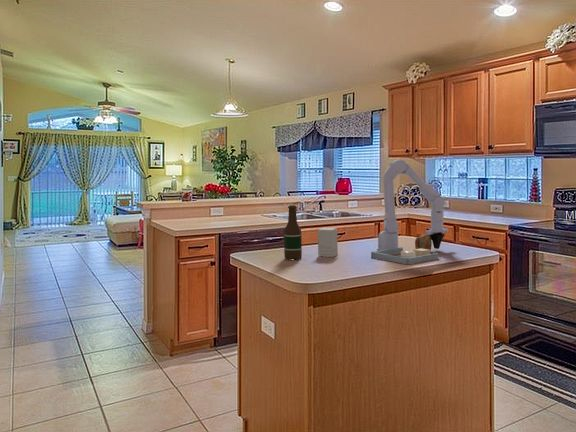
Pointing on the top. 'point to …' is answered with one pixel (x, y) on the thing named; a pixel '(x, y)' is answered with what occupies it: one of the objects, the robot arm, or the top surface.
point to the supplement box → (327, 242)
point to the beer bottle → (292, 236)
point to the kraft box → (421, 252)
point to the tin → (423, 242)
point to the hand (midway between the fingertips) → (436, 248)
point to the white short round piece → (407, 254)
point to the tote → (389, 257)
